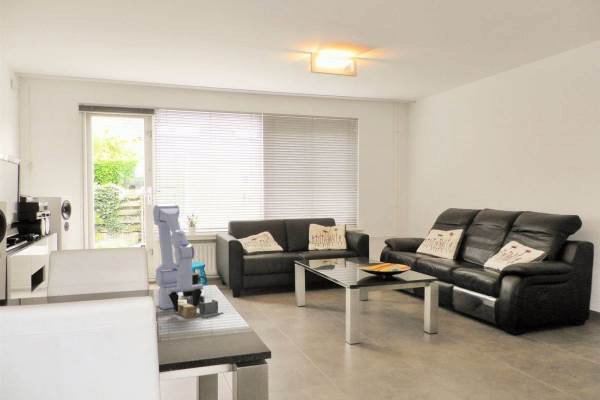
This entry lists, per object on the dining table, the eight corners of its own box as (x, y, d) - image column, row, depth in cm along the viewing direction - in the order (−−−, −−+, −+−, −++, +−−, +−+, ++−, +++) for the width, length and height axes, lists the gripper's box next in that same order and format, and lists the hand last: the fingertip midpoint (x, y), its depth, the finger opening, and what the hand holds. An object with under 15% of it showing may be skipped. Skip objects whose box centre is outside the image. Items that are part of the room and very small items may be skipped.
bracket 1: (186, 307, 194) (186, 297, 194) (200, 305, 198) (200, 295, 198) (190, 309, 191) (190, 298, 191) (204, 306, 194) (204, 296, 194)
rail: (175, 312, 190) (174, 302, 190) (183, 311, 192) (183, 301, 192) (188, 318, 178) (188, 308, 178) (197, 317, 180) (196, 307, 180)
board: (184, 308, 195) (184, 307, 195) (203, 305, 199) (203, 304, 199) (203, 317, 179) (203, 315, 179) (223, 313, 184) (223, 312, 184)
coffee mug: (176, 295, 224) (176, 274, 224) (189, 292, 231) (188, 272, 231) (195, 297, 218) (195, 276, 218) (207, 294, 226) (207, 273, 226)
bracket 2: (218, 312, 184) (217, 301, 184) (203, 314, 180) (203, 303, 181) (213, 310, 187) (213, 299, 187) (199, 312, 184) (199, 301, 184)
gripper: (170, 278, 178) (171, 314, 177) (205, 274, 186) (206, 308, 186) (164, 276, 183) (165, 311, 183) (198, 272, 192) (199, 305, 192)
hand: (185, 309), depth 185 cm, fingers open, 7 cm apart
